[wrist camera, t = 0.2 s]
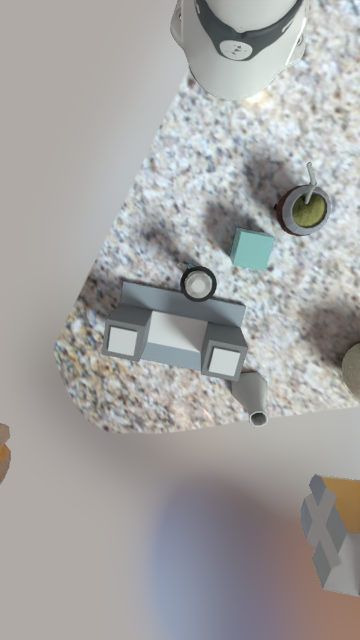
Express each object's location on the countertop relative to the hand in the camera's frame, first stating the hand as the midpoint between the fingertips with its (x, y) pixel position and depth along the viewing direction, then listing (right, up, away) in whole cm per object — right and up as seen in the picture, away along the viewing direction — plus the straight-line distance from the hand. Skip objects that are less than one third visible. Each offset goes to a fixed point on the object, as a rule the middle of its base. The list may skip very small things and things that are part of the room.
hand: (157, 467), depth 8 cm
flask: (+14, -9, +52) cm, 55 cm away
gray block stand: (0, +2, +49) cm, 49 cm away
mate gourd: (+18, +22, +41) cm, 50 cm away
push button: (+3, +12, +45) cm, 47 cm away
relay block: (+12, +14, +38) cm, 42 cm away
